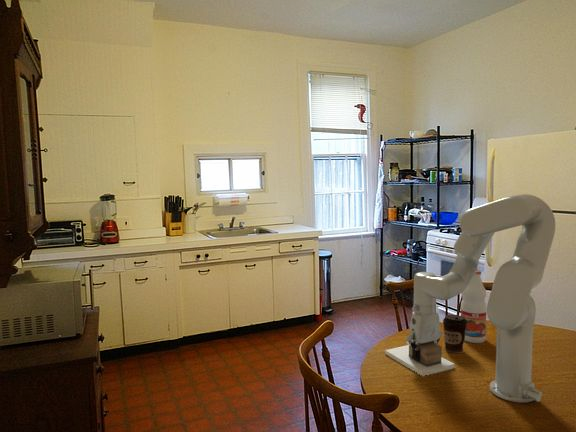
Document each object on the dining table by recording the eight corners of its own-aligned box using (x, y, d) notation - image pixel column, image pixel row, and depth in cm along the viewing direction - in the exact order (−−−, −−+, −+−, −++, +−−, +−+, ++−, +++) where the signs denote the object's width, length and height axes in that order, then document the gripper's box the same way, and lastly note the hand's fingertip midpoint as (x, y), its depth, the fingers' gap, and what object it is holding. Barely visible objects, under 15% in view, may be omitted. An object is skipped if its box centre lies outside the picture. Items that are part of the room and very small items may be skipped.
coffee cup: (462, 357, 156) (463, 322, 154) (439, 351, 161) (439, 318, 159) (468, 349, 162) (469, 315, 161) (446, 344, 167) (447, 311, 166)
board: (454, 368, 147) (454, 363, 147) (422, 376, 141) (422, 372, 141) (414, 347, 165) (414, 343, 165) (385, 354, 159) (385, 350, 159)
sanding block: (441, 363, 147) (441, 346, 147) (426, 367, 145) (427, 349, 144) (422, 353, 156) (423, 337, 155) (408, 356, 153) (409, 340, 152)
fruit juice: (484, 336, 175) (486, 268, 172) (486, 344, 166) (488, 273, 163) (459, 333, 178) (461, 267, 176) (460, 342, 169) (461, 272, 167)
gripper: (412, 315, 142) (411, 367, 143) (451, 307, 149) (450, 357, 151) (397, 308, 148) (397, 358, 150) (436, 301, 156) (435, 349, 157)
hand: (424, 357), depth 150 cm, fingers closed on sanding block, 6 cm apart
